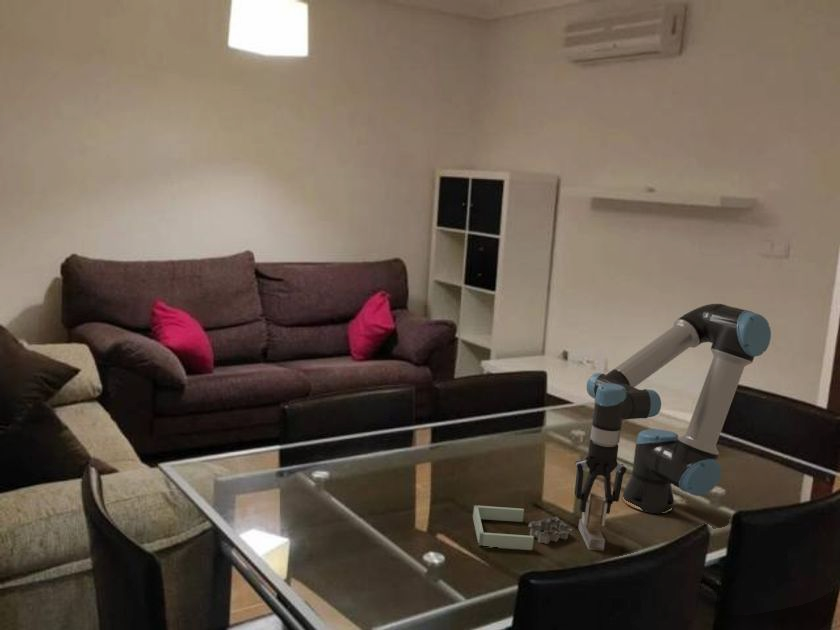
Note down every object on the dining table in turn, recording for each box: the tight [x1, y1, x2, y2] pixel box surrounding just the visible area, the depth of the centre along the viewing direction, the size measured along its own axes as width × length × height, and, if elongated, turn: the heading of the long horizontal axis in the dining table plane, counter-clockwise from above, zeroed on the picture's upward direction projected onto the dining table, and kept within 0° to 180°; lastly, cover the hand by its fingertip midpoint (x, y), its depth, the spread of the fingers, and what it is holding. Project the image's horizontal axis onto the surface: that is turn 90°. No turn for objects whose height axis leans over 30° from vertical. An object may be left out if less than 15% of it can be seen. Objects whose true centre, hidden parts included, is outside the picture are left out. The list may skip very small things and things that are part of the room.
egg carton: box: [527, 515, 573, 545], centre depth 211 cm, size 11×8×4 cm
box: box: [472, 505, 535, 551], centre depth 210 cm, size 14×17×4 cm
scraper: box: [578, 491, 606, 552], centre depth 210 cm, size 4×12×13 cm, turn 2°
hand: (592, 523), depth 211 cm, fingers open, 4 cm apart
